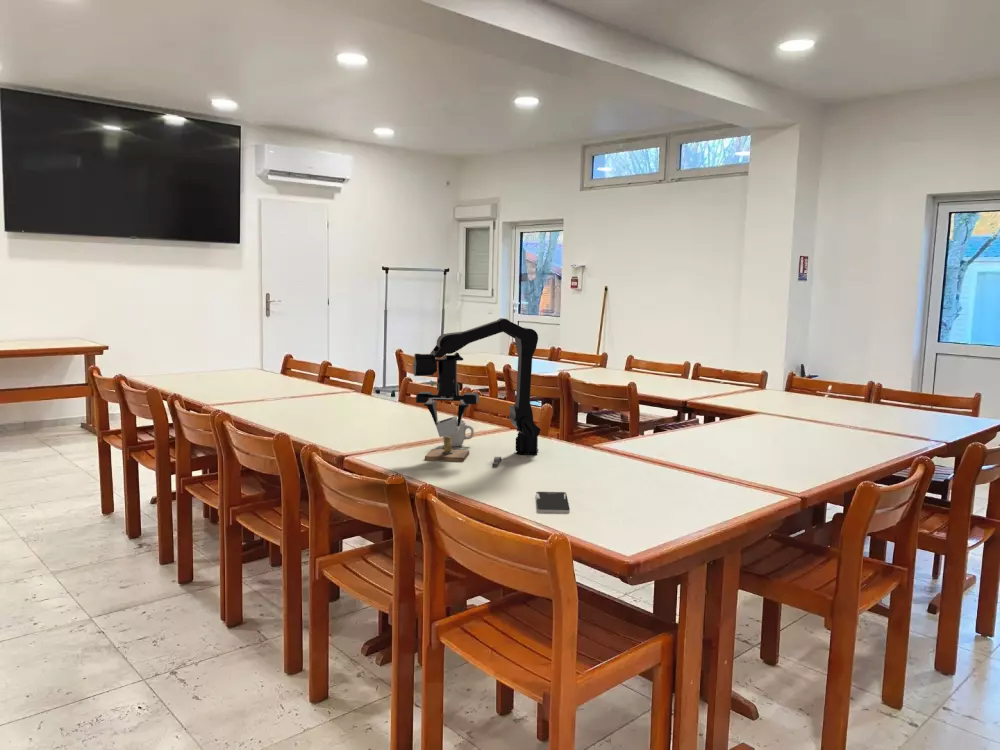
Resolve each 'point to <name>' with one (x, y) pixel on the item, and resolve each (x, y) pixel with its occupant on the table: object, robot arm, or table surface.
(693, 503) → the table surface
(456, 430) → the end link
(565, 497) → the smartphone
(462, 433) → the cup
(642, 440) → the table surface
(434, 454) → the wooden peg board
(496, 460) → the grey long bar
